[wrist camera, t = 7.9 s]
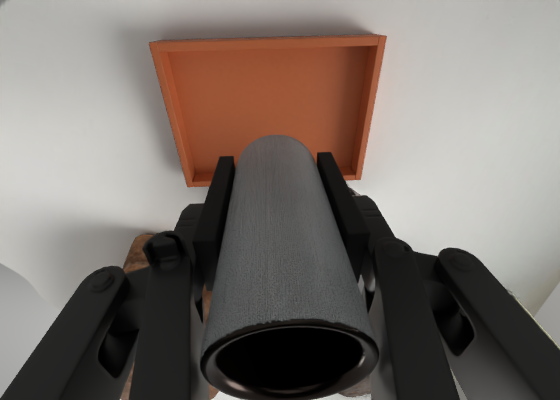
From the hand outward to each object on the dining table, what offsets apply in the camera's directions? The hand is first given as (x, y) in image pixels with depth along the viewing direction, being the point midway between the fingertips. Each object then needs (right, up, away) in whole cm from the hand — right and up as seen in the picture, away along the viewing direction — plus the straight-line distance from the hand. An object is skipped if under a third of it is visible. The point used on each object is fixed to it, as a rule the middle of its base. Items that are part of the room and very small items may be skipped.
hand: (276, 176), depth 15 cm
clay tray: (-1, +7, +9) cm, 11 cm away
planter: (0, 0, 0) cm, 1 cm away
